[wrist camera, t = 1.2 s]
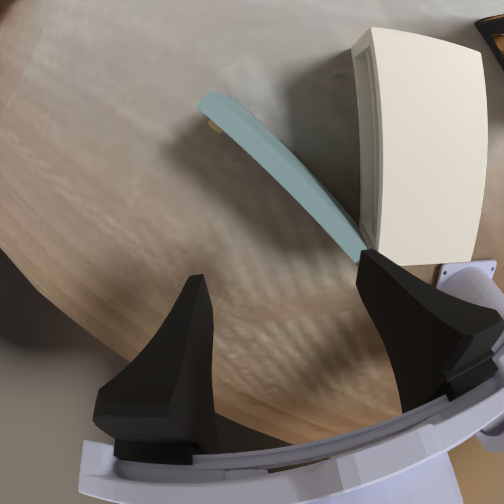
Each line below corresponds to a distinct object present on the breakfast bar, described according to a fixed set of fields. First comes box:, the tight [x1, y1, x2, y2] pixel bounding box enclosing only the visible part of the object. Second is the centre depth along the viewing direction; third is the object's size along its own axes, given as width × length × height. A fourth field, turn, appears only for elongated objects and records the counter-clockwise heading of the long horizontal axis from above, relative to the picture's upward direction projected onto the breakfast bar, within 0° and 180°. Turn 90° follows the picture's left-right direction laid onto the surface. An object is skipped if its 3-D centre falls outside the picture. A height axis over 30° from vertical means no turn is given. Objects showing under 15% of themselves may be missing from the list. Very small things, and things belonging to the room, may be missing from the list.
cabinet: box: [351, 27, 488, 266], centre depth 15 cm, size 15×8×6 cm, turn 7°
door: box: [196, 91, 369, 267], centre depth 18 cm, size 14×2×6 cm, turn 46°
